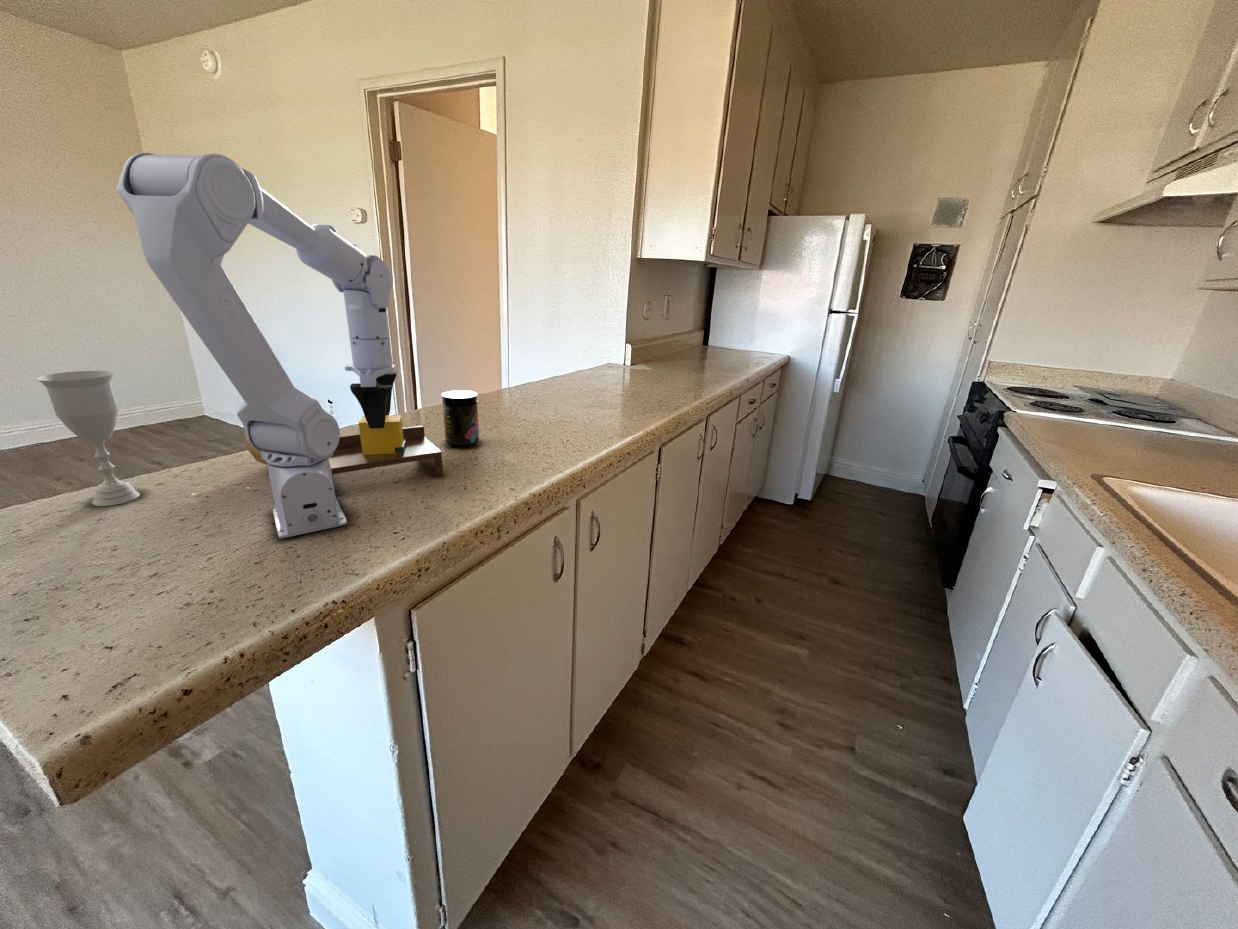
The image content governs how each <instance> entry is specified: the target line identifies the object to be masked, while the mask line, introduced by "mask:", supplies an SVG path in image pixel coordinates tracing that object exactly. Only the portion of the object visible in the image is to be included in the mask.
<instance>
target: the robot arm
mask: <svg viewBox="0 0 1238 929" xmlns="http://www.w3.org/2000/svg"><path fill="white" fill-rule="evenodd" d="M116 193H117V194H118V195H119V197H120V198H121V199H122V201H123V203H124V204H125V205H126V207H127V209H128V210H129V211H130V212H131V214H132V216H133V218H134V221H135V225H136V229H137V232H138V236H139V240H140V244H141V247H142V252H143V255H144V258H145V260H146V263H147V264H148V266H149V268H150V269H151V270H152V271H153V273H154V275H155V276H156V278H157V279H158V280H159V282H160V283H161V285H162V286H163V287H164V289H165V290H166V292H167V293H168V295H169V296H170V298H171V299H172V300H173V302H174V303H175V305H176V306H177V307H178V309H179V311H181V313H182V314H183V316H184V317H185V319H186V320H187V322H188V323H189V324H190V326H191V327H192V328H193V330H194V331H195V333H196V334H197V336H198V337H199V338H200V340H201V341H202V343H203V344H204V346H205V347H206V349H207V350H208V351H209V353H210V354H211V355H212V357H213V358H214V360H215V361H216V363H217V364H218V365H219V367H220V369H221V370H222V371H223V372H224V374H225V375H226V377H227V379H228V380H229V382H231V384H232V386H233V387H234V389H236V392H238V394H239V395H240V397H241V398H242V400H243V401H244V402H243V403H242V404H241V406H240V407H239V409H238V411H237V413H236V416H237V417H238V419H239V420H240V421H241V423H242V425H243V429H244V435H246V439H247V441H248V443H249V444H250V445H251V446H252V447H253V448H254V449H256V450H257V451H260V453H261V458H262V459H263V460H266V462H267V465H266V467H267V472H268V477H269V481H270V486H271V491H272V496H273V501H274V505H275V508H273V509H272V514H273V518H274V523H275V528H276V532H277V536H278V538H279V539H287V538H291V537H296V536H301V535H305V534H310V533H315V532H318V531H319V532H320V531H324V530H328V529H329V530H330V529H334V528H337V527H342V526H346V525H347V524H348V520H347V518H346V516H345V513H344V511H343V510H342V508H341V506H340V504H339V502H338V499H337V498H336V492H335V486H334V478H333V474H332V472H331V466H330V460H329V457H331V456H333V452H334V451H335V449H336V448H337V445H338V443H339V438H340V436H341V433H340V432H341V430H340V426H339V423H338V421H337V419H336V418H335V417H334V416H333V415H332V414H330V413H329V412H327V411H326V410H324V409H323V407H322V405H321V404H320V402H319V401H318V400H317V399H316V398H314V397H312V396H311V395H309V394H307V393H305V392H304V391H302V390H301V389H299V388H297V387H296V386H295V385H294V383H293V382H292V380H291V379H290V377H289V375H288V373H287V372H286V371H285V368H284V367H283V366H282V364H281V362H280V361H279V359H278V357H277V355H276V354H275V352H274V350H273V349H272V346H270V344H269V342H268V340H267V339H266V338H265V336H264V334H263V332H262V331H261V329H260V328H259V326H258V323H257V322H256V321H255V319H254V318H253V316H252V313H251V312H250V311H249V309H248V308H247V306H246V304H245V303H244V301H243V299H242V298H241V296H240V294H239V292H238V291H237V289H236V287H235V286H234V285H233V283H232V281H231V280H230V278H229V276H228V274H227V273H226V271H225V270H224V268H223V265H222V264H223V260H224V257H225V255H226V254H228V253H229V252H230V251H231V249H232V247H233V246H234V245H235V243H236V242H237V241H238V239H239V238H240V236H241V234H242V233H243V231H244V230H245V229H246V227H247V225H250V226H252V227H254V228H256V229H258V230H260V231H262V232H264V233H265V234H267V235H269V236H271V237H273V238H275V239H277V240H279V241H280V242H283V243H285V244H287V245H288V246H290V247H292V248H294V249H295V252H296V254H297V257H298V259H299V260H300V261H301V263H303V264H304V265H306V266H307V267H310V268H311V269H312V270H314V271H316V272H318V273H319V274H321V275H323V276H325V277H327V278H328V279H329V280H331V281H332V283H333V286H334V287H335V289H336V290H337V291H338V292H339V293H343V299H344V307H345V313H346V320H347V322H346V323H347V329H348V336H349V344H350V351H351V359H352V364H346V365H345V366H344V371H346V372H353V373H354V374H355V375H356V376H358V377H359V382H360V383H358V382H357V383H351V384H350V385H349V389H350V392H351V393H352V394H353V396H354V397H355V399H356V400H357V402H358V403H359V405H360V407H361V410H362V412H363V416H365V418H366V421H367V423H368V426H369V428H370V429H375V428H384V425H385V418H386V416H390V414H391V407H392V406H391V404H392V402H391V401H392V392H393V387H394V384H395V380H396V378H397V376H398V372H397V371H395V369H396V368H395V364H393V362H394V361H393V354H392V345H391V344H392V343H391V335H390V334H391V333H390V325H389V314H388V308H389V307H390V304H391V300H390V298H391V297H390V294H391V291H392V288H393V284H394V282H393V281H394V279H393V275H392V274H391V270H390V268H389V266H388V264H387V262H385V261H384V260H382V258H380V257H379V256H377V255H373V254H366V253H364V252H363V250H360V247H359V246H358V245H357V244H355V243H351V242H349V241H348V240H347V239H345V238H343V237H342V236H341V235H339V234H338V233H337V231H338V230H337V228H336V227H334V226H333V225H331V224H320V223H316V224H311V225H310V224H309V223H308V222H306V221H305V220H304V219H303V218H301V217H300V216H298V215H297V214H296V213H294V211H292V210H291V209H289V208H288V207H287V206H286V205H284V204H283V203H282V202H280V201H279V200H278V199H277V198H276V197H275V196H273V195H271V194H270V193H269V192H268V191H267V190H265V189H264V188H262V187H261V186H260V184H259V182H258V179H257V177H256V175H255V174H254V173H252V172H251V171H249V170H247V169H245V168H243V167H241V166H240V165H239V164H238V163H236V162H235V161H234V160H233V159H232V158H230V157H228V156H226V155H224V154H221V153H214V152H213V153H212V152H211V153H205V154H201V155H200V154H156V153H150V152H138V153H135V154H132V155H131V156H129V157H128V158H127V159H126V160H125V162H124V164H123V167H122V170H121V173H120V177H119V180H118V183H117V186H116Z"/></svg>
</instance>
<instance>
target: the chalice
mask: <svg viewBox="0 0 1238 929" xmlns="http://www.w3.org/2000/svg"><path fill="white" fill-rule="evenodd" d="M113 377H114V372H113V371H109V370H78V371H66V372H55V373H50V374H46V375H41V376H39V377H36V379H37V381H38V382H39V383H40V384H42V385H43V386H45V387H46V391H47V393H48V396H49V398H50V402H51V405H52V407H53V410H54V413H55V415H56V417H57V418H58V419H59V421H60V422H61V423H62V424H63V425H64V426H65V427H66V428H67V429H68V430H69V431H70V432H71V433H73V434H74V435H75V436H76V437H78V438H79V439H80V440H81V441H82V442H84V443H91V444H92V445H93V446H94V448H95V454H94V458H96V459H97V460H98V461H99V466H98V468H97V470H99V471H101V473H102V475H103V476H104V480H102V483H100V484H98V485H97V487H96V488H95V489H94V491H95V493H94V494H93V500H92V502H91V504H92V506H93V505H94V506H96V507H111V506H116V505H121V504H125V503H128V502H132V501H134V500H135V499H138V498H139V497H140V496H141V494H140V493H139V492H138V491H137V490H135V488H134V486H132V485H131V483H129V482H128V481H126V480H120V479H119V478H117V477H116V476H115V475H114V468H115V467H116V465H115V464H113V463H111V462H110V456H111V452H109V451H108V450H107V448H106V447H105V442H106V441H108V440H110V439H111V438H112V436H113V433H114V430H115V428H116V424H117V421H118V415H119V410H120V409H119V405H118V401H117V397H116V394H115V390H114V388H113V385H112V379H113ZM117 482H118V483H117ZM111 483H114V484H111ZM101 485H103V486H101ZM98 486H100V487H98Z"/></svg>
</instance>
